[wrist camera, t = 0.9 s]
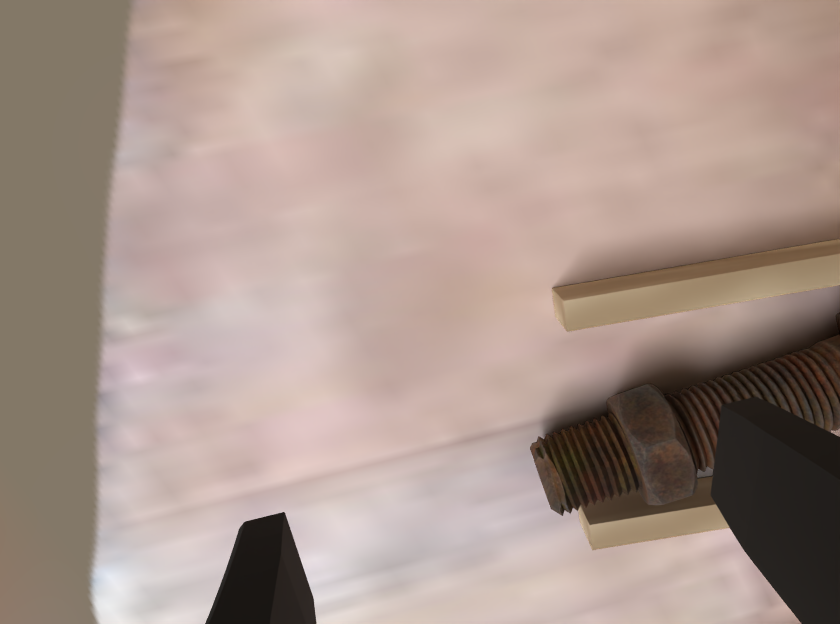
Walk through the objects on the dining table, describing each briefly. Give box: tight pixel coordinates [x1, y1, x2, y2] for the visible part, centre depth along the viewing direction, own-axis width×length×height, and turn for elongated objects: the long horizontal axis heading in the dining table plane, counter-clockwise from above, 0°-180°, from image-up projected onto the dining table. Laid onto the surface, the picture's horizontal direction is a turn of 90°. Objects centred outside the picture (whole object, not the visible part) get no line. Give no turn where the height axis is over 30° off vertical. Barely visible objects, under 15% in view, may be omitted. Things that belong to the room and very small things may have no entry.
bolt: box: [530, 313, 840, 516], centre depth 26 cm, size 6×5×15 cm
